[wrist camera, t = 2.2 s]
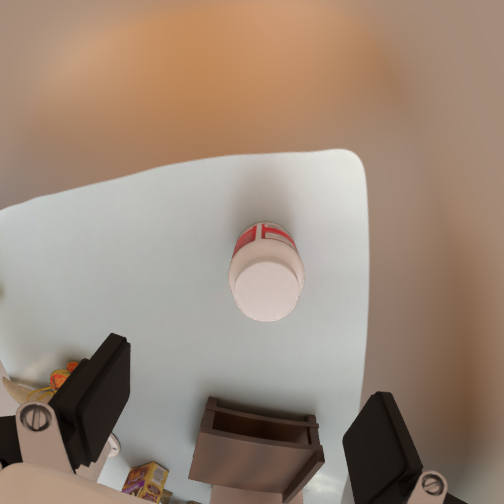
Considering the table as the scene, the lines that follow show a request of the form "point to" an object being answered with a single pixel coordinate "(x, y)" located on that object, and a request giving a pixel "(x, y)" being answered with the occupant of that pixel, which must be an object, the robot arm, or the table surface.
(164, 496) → the eiffel tower
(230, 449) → the plate
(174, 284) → the table surface
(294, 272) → the pill bottle
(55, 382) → the magic lamp
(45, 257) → the table surface
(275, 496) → the container
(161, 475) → the candy box
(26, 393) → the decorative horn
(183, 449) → the table surface
